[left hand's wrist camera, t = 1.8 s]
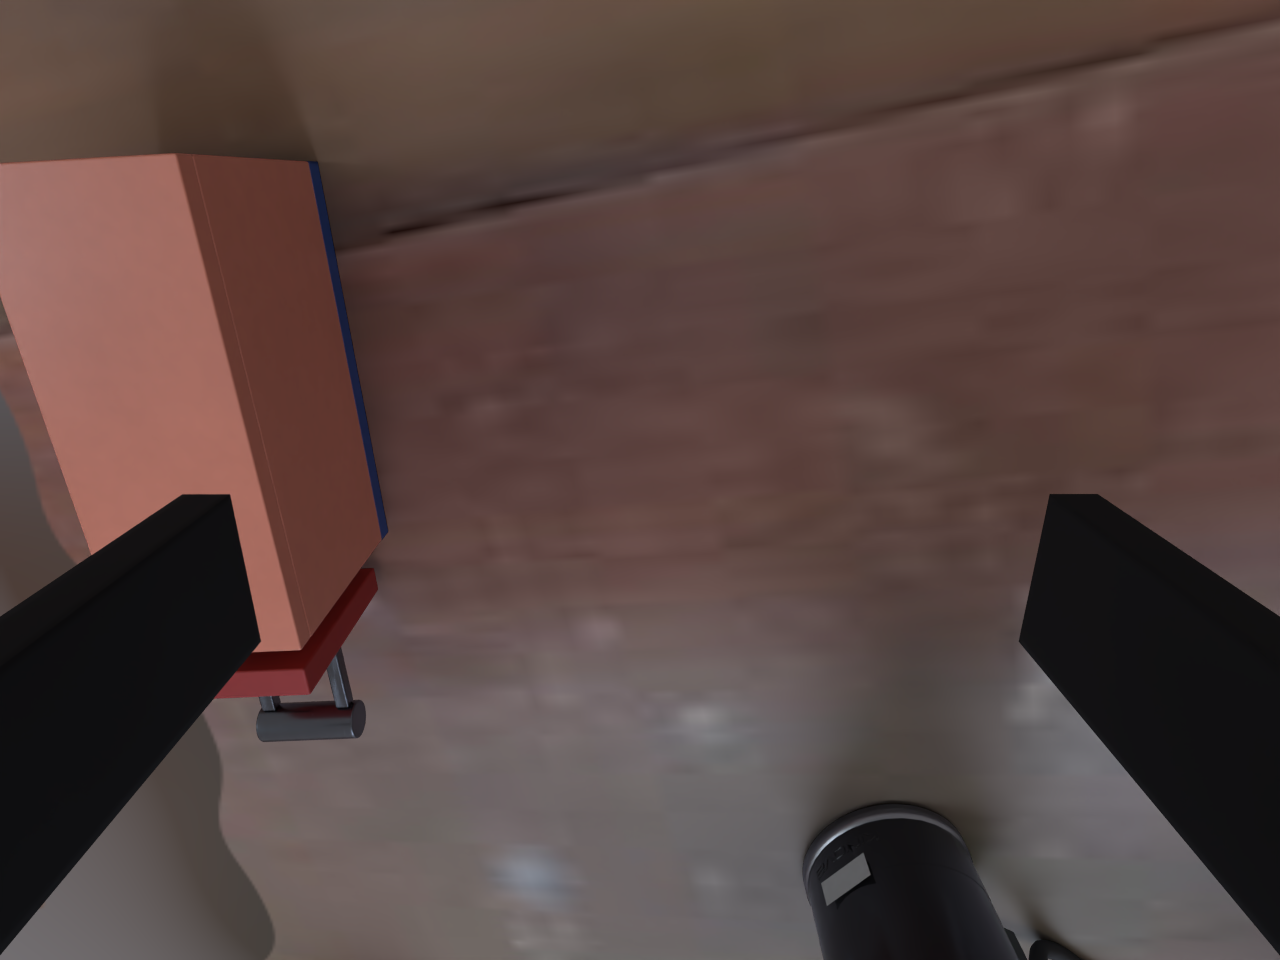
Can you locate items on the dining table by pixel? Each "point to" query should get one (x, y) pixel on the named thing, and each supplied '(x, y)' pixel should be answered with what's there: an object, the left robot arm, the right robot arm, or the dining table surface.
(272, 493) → the cabinet
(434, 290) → the dining table surface
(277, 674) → the drawer
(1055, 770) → the dining table surface
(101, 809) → the left robot arm
